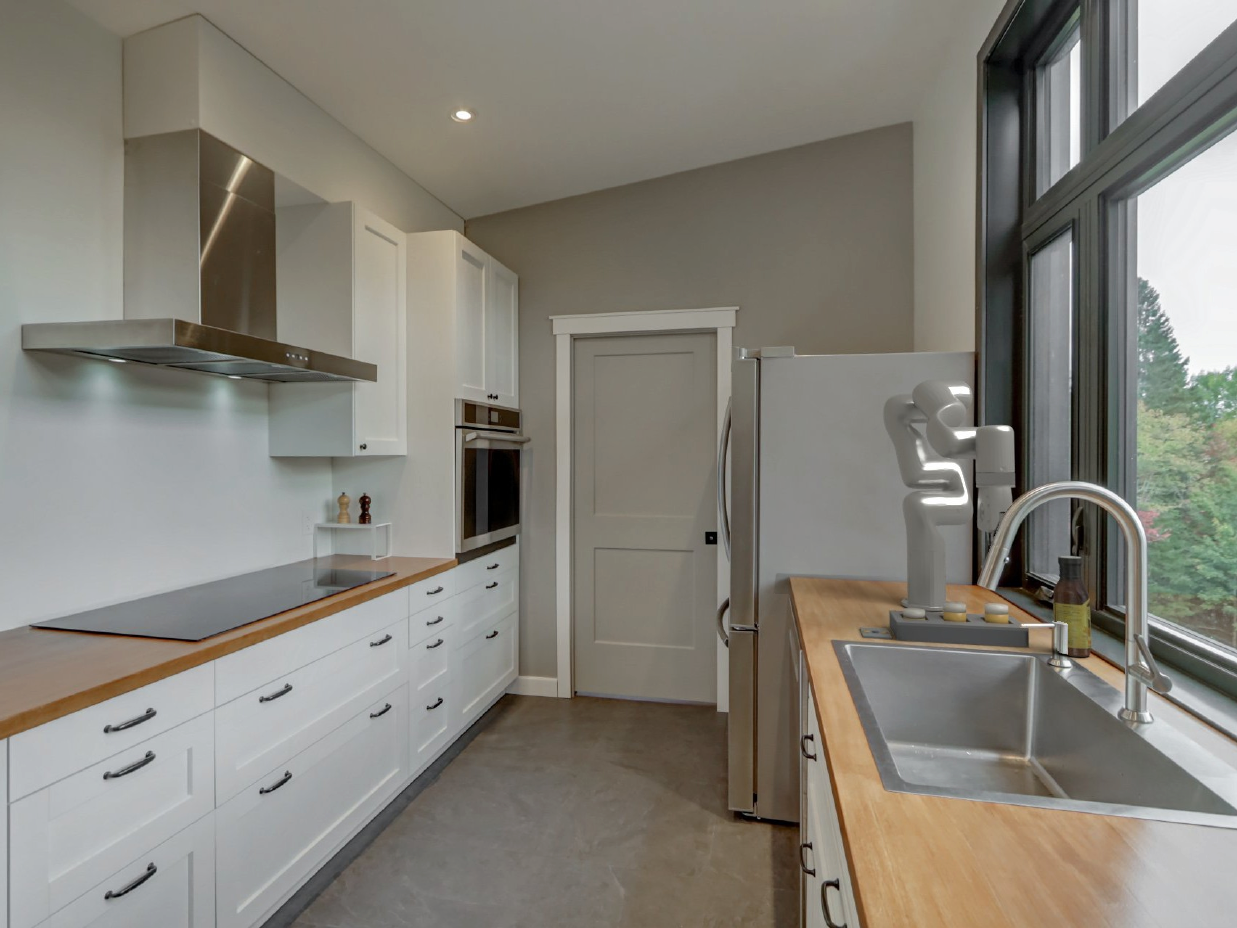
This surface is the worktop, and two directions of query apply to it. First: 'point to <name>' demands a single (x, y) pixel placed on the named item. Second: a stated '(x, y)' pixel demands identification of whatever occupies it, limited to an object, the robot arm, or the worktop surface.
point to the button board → (958, 630)
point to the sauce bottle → (1073, 605)
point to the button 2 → (996, 613)
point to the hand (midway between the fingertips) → (997, 563)
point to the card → (875, 633)
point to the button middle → (954, 611)
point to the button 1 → (914, 613)
